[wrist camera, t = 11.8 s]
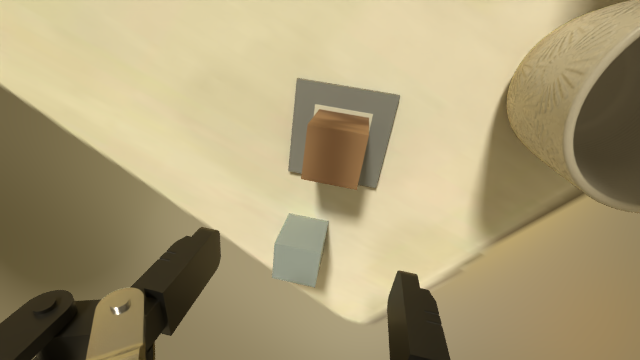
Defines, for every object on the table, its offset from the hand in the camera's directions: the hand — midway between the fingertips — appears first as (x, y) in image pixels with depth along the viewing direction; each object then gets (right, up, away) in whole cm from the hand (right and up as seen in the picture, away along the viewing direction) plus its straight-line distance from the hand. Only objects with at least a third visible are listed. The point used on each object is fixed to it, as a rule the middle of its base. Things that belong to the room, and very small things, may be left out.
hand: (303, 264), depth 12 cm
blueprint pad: (+3, +8, +17) cm, 19 cm away
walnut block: (+3, +8, +17) cm, 19 cm away
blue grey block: (-1, -3, +23) cm, 24 cm away
